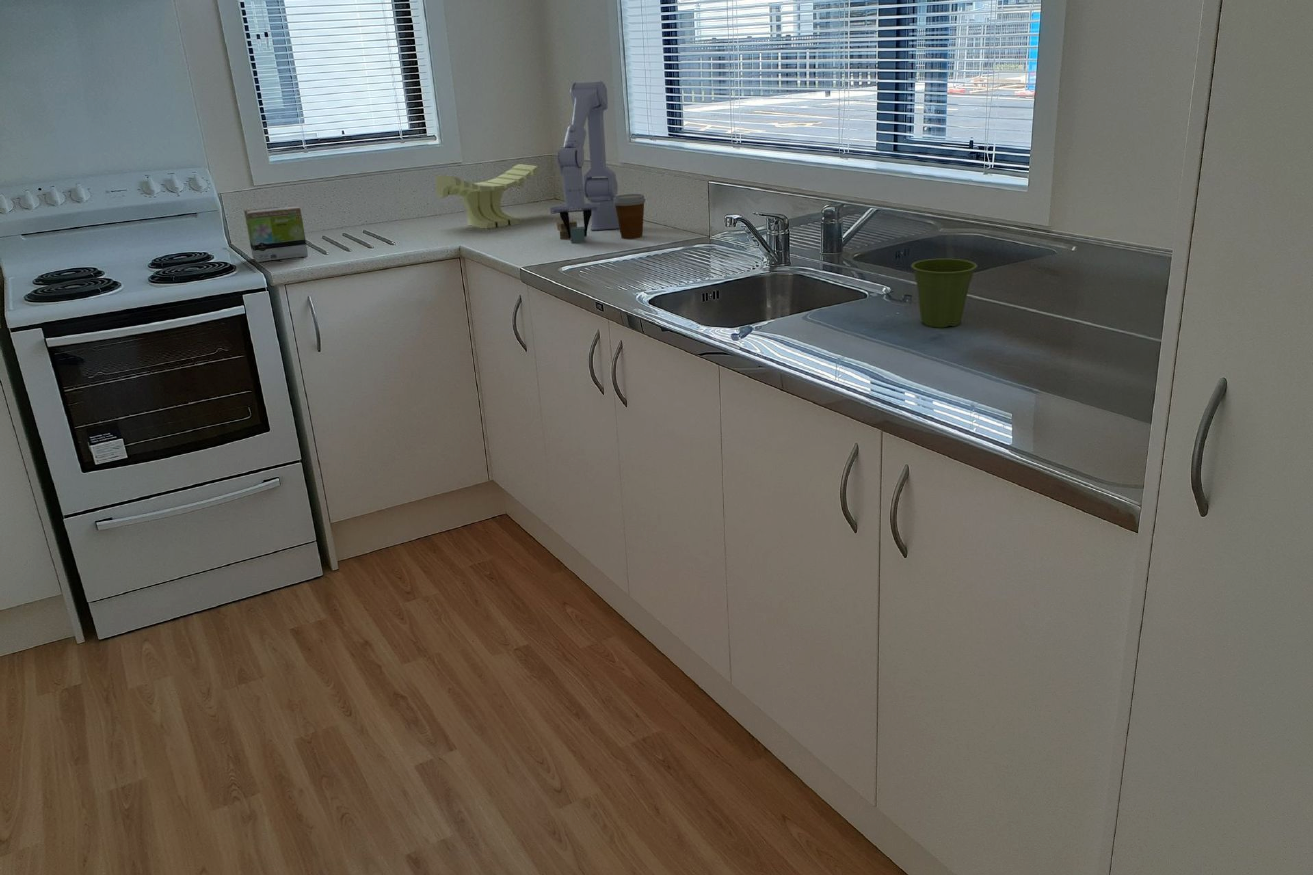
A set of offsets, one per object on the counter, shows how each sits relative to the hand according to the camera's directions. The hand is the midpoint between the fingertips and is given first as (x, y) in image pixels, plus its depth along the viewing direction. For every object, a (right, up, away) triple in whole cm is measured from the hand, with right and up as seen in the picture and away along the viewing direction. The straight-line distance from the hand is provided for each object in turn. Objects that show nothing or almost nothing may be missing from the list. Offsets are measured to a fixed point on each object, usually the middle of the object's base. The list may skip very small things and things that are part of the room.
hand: (577, 236), depth 300 cm
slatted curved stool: (-32, +13, +43) cm, 55 cm away
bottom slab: (-3, +1, +9) cm, 10 cm away
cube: (0, -1, +1) cm, 1 cm away
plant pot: (+78, -38, -107) cm, 138 cm away
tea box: (-90, -5, +7) cm, 91 cm away
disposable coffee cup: (+16, 0, +2) cm, 16 cm away
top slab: (-4, +4, +8) cm, 10 cm away
